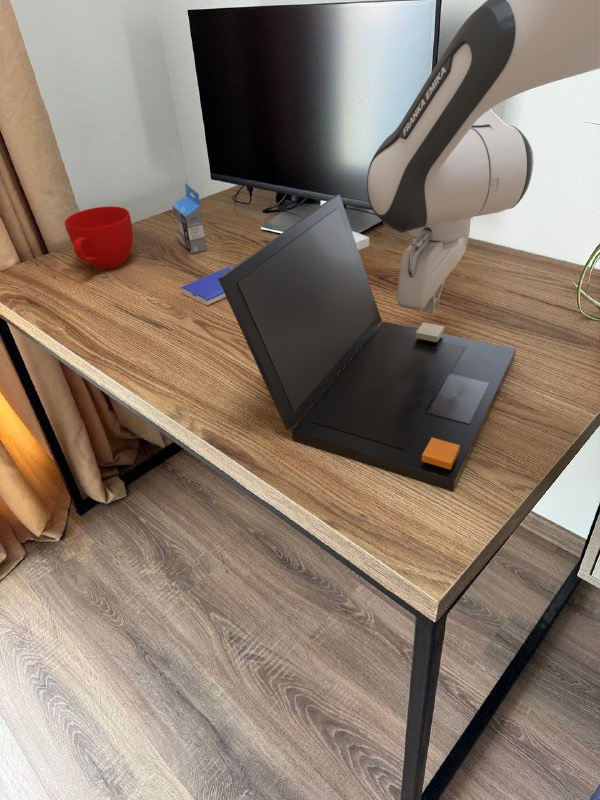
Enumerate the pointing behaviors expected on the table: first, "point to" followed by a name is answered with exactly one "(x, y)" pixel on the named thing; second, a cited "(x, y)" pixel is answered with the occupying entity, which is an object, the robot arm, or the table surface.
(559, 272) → the table surface
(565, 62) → the robot arm
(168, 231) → the table surface
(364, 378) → the laptop
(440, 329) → the off-white flat block
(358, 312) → the laptop screen
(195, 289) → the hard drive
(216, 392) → the table surface
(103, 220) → the ceramic cup
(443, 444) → the key amber
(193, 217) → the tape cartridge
